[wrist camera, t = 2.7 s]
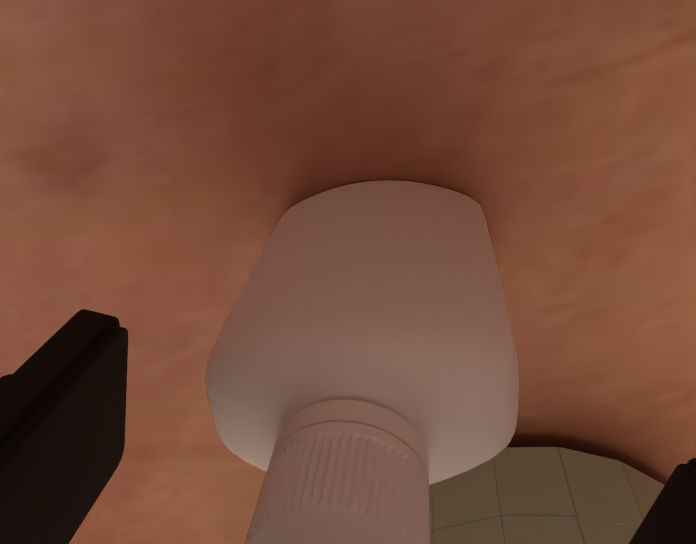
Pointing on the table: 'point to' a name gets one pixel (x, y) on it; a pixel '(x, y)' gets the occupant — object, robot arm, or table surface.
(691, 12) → the table surface
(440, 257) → the eye dropper bottle
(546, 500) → the bowl
